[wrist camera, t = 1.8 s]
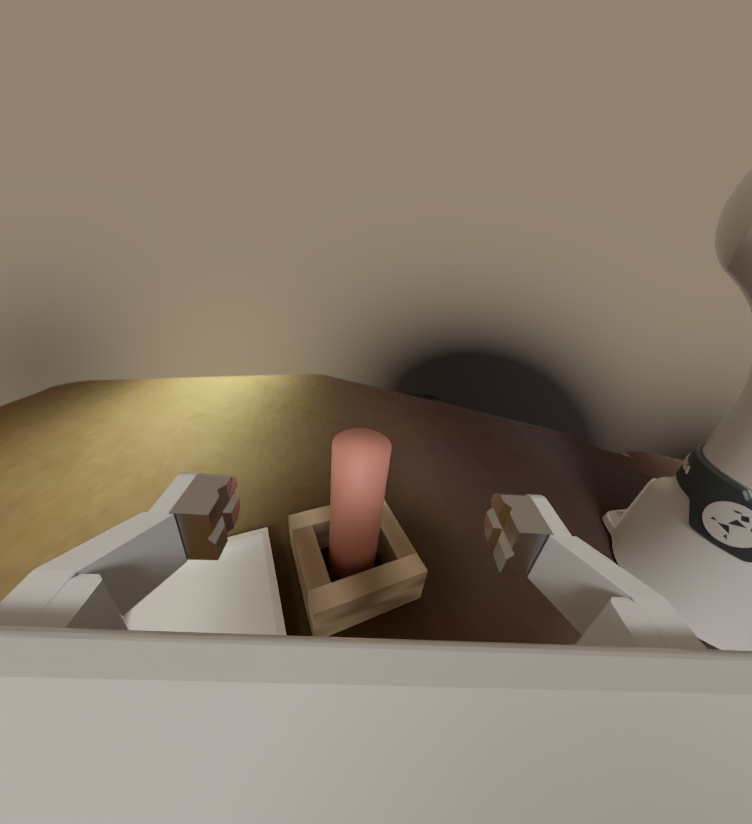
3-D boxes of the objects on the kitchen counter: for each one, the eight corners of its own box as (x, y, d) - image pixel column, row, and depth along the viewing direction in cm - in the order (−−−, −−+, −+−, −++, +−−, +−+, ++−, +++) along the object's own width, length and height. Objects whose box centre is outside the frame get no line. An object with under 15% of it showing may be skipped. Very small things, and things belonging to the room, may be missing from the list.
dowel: (363, 543, 34) (376, 424, 26) (381, 581, 30) (402, 456, 23) (322, 556, 32) (324, 433, 25) (336, 597, 29) (343, 468, 21)
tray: (268, 540, 33) (267, 527, 32) (290, 667, 24) (290, 654, 23) (129, 578, 28) (122, 564, 27) (88, 756, 19) (75, 744, 18)
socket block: (376, 517, 37) (379, 492, 35) (420, 597, 29) (427, 570, 27) (289, 542, 33) (288, 515, 31) (313, 642, 25) (313, 614, 23)
